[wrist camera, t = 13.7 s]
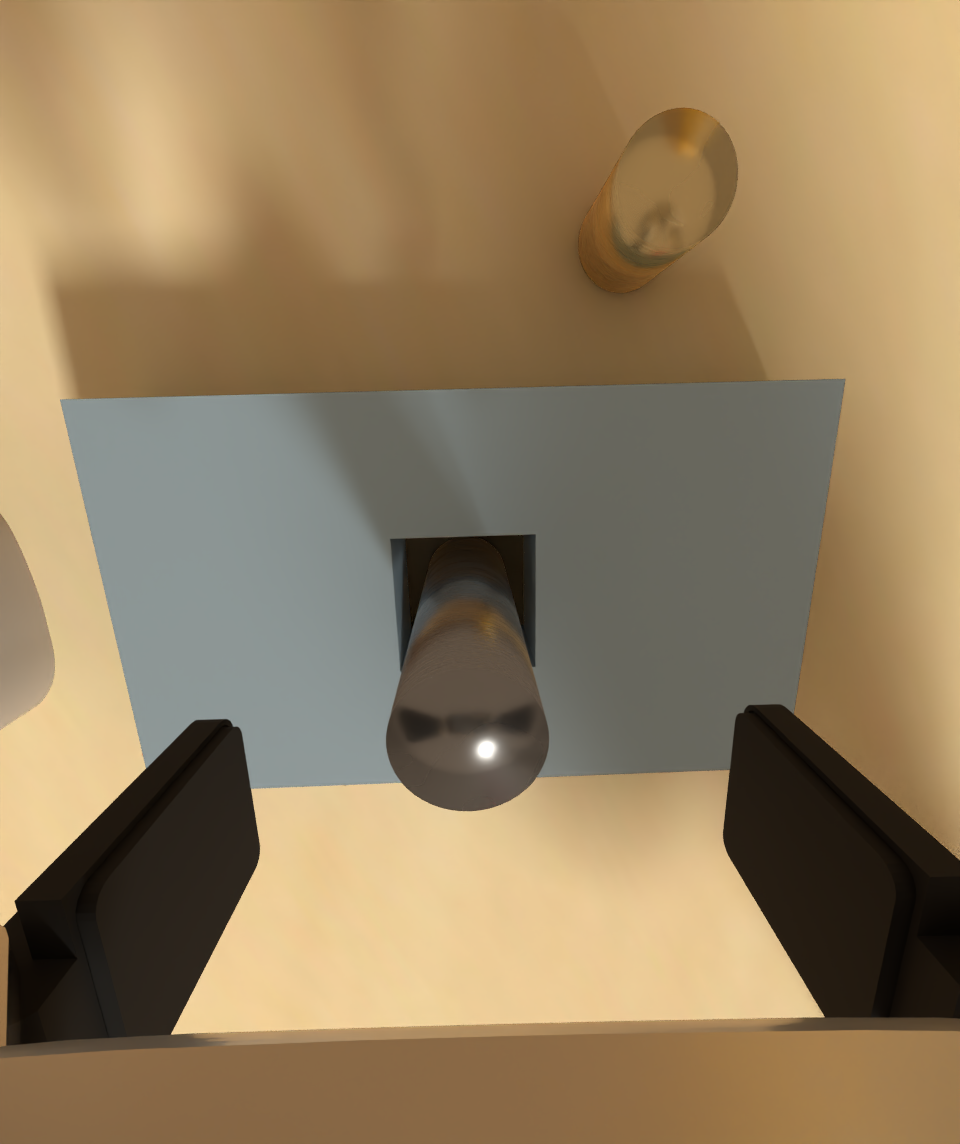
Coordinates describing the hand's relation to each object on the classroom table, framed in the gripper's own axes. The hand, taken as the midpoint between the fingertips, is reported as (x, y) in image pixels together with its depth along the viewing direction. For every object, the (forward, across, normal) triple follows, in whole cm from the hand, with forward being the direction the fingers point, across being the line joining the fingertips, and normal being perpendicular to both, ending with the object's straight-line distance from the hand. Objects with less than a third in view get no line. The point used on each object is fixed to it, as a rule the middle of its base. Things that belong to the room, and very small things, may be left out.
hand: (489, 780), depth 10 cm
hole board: (+12, +1, -1) cm, 13 cm away
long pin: (+12, +1, -1) cm, 13 cm away
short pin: (+12, -5, -13) cm, 19 cm away
